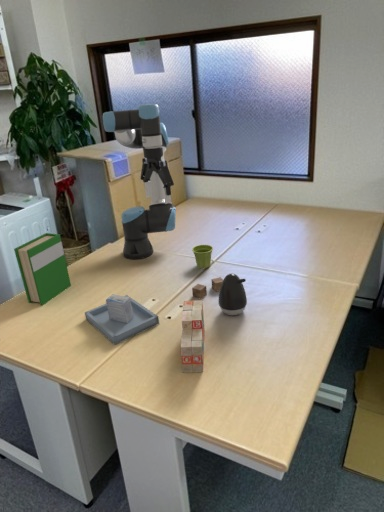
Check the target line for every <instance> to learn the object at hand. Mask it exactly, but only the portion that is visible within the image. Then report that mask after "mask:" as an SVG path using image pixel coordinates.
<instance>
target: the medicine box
mask: <svg viewBox="0 0 384 512" xmlns="http://www.w3.org/2000/svg"><path fill="white" fill-rule="evenodd" d="M125 296H126V295H121V294H120V295H119V294H111V295H110V296H108V297H107V298H106V299H105V304H107V309H108V314H109V319H110V320H113V321H118V322H123V323H128V322H129V321H130V320H131V319H132V318H133V317H134V316H133V311H132V305H131V299H130V297H131V296H129V297H125Z"/></svg>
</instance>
